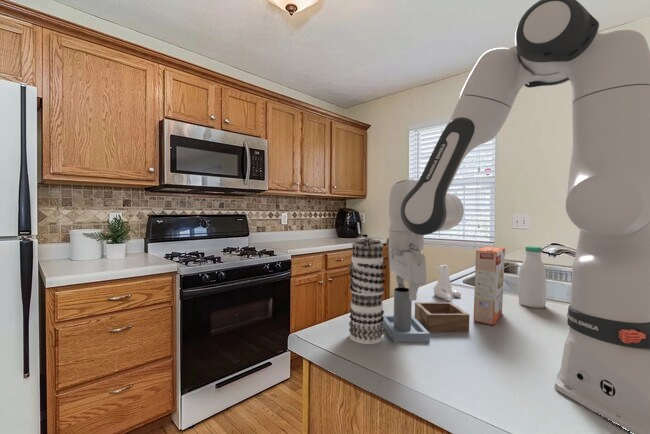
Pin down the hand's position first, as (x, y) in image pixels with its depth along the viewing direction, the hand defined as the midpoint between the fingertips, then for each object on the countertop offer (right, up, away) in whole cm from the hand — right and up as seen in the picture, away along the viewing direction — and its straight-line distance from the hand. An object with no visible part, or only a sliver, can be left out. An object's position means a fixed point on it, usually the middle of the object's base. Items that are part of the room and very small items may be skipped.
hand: (406, 294), depth 84 cm
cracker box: (+28, -10, +12) cm, 32 cm away
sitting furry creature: (+23, -9, +34) cm, 42 cm away
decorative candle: (-11, -10, -3) cm, 15 cm away
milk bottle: (+49, -10, +25) cm, 56 cm away
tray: (-1, -10, +1) cm, 10 cm away
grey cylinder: (-1, -9, +1) cm, 9 cm away
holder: (+11, -10, +6) cm, 16 cm away
